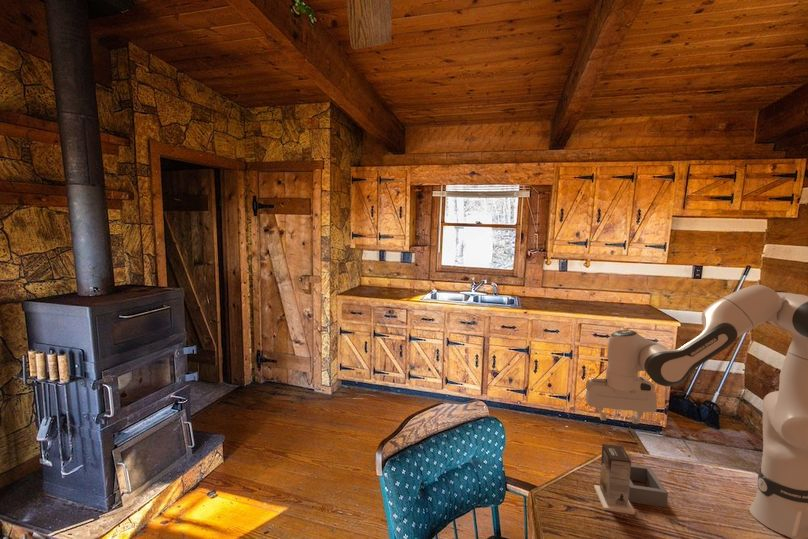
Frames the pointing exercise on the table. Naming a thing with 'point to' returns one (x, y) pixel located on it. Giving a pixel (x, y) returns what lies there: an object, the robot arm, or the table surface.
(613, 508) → the mat
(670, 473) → the table surface
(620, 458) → the coffee box
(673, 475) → the table surface
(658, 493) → the rectangular frame
